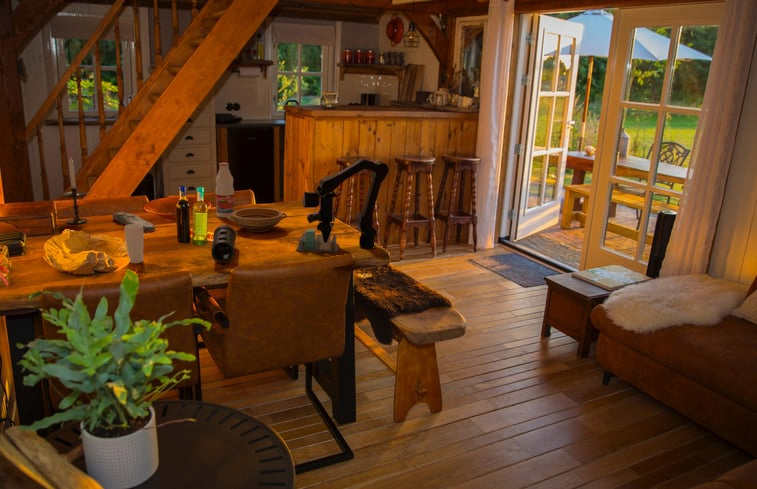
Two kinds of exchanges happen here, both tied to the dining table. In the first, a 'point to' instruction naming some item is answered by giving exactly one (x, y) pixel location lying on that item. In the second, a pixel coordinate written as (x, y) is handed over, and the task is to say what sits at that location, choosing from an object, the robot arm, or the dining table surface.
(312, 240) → the teal plug
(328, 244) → the off-white plug
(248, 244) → the dining table surface
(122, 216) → the long grey stone
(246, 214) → the ceramic bowl
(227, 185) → the fruit juice
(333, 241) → the slot rack
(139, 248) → the drinking glass
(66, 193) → the candlestick
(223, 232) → the muzzle brake
